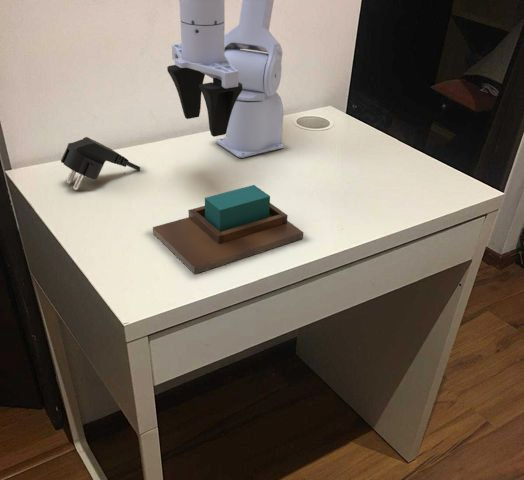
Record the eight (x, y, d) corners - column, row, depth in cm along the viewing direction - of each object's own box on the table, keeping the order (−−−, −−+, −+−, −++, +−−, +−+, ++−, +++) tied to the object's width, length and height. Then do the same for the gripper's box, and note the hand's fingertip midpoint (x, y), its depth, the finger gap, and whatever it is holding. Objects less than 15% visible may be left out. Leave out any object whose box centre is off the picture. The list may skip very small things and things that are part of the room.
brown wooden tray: (256, 204, 87) (256, 190, 85) (303, 238, 80) (304, 224, 78) (152, 233, 79) (151, 219, 78) (194, 274, 72) (193, 259, 71)
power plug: (149, 170, 92) (83, 139, 83) (128, 213, 94) (62, 187, 85) (133, 158, 95) (68, 126, 86) (113, 199, 97) (47, 172, 88)
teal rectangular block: (253, 207, 84) (254, 184, 82) (269, 219, 81) (270, 196, 79) (205, 221, 80) (204, 197, 78) (220, 233, 78) (219, 210, 76)
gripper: (149, 11, 78) (157, 114, 87) (203, 37, 69) (206, 148, 78) (195, 7, 81) (198, 106, 90) (253, 31, 72) (250, 139, 81)
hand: (205, 125), depth 84 cm, fingers open, 7 cm apart
